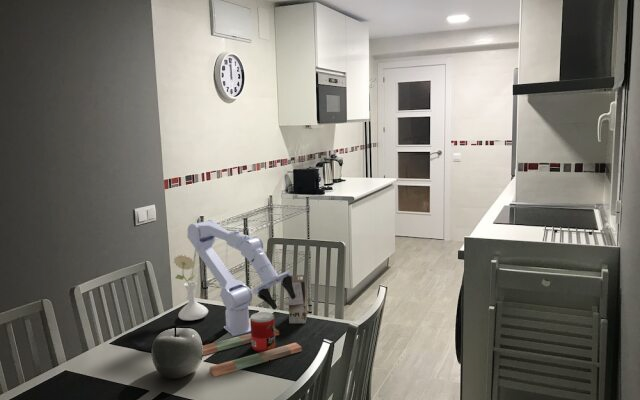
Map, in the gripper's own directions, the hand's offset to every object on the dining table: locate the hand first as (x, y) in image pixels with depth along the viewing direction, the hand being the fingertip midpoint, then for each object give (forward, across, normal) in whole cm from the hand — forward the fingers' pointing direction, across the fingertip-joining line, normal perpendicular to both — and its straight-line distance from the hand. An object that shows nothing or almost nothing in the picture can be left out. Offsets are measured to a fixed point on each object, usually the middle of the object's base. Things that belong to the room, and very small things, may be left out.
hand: (285, 303), depth 174 cm
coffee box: (+4, +12, +24) cm, 28 cm away
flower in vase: (-19, -18, +42) cm, 50 cm away
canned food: (+8, -10, +10) cm, 17 cm away
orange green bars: (+7, -16, +10) cm, 20 cm away
